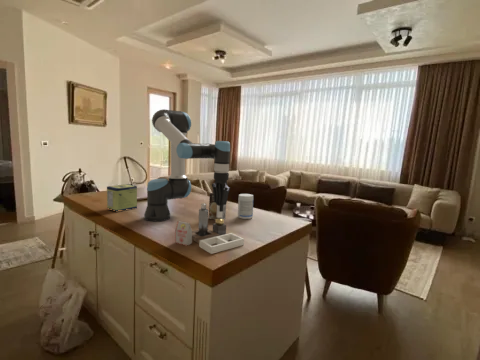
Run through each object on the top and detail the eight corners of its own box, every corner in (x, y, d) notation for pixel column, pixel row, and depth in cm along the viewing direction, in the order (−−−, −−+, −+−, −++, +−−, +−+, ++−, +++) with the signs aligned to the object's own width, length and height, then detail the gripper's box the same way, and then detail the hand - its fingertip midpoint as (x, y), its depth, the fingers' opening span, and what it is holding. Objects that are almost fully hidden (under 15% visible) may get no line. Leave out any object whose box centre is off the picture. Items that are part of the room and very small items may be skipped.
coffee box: (208, 218, 165) (208, 193, 163) (213, 216, 171) (214, 191, 169) (221, 221, 162) (222, 195, 159) (226, 218, 167) (227, 193, 165)
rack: (199, 246, 121) (199, 240, 120) (231, 238, 133) (231, 232, 132) (211, 253, 114) (211, 247, 113) (243, 244, 126) (244, 238, 125)
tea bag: (180, 240, 128) (180, 220, 126) (191, 243, 125) (192, 222, 123) (175, 242, 124) (175, 222, 123) (187, 245, 122) (187, 224, 120)
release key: (213, 231, 139) (213, 219, 138) (220, 229, 142) (220, 218, 141) (218, 233, 136) (218, 221, 135) (225, 232, 139) (225, 220, 138)
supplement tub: (255, 218, 171) (256, 195, 169) (243, 220, 165) (244, 197, 163) (246, 214, 179) (247, 193, 177) (234, 216, 173) (235, 194, 171)
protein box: (137, 208, 182) (137, 185, 180) (116, 212, 169) (115, 188, 167) (127, 205, 187) (127, 183, 185) (106, 209, 174) (106, 186, 172)
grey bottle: (196, 236, 133) (197, 203, 131) (204, 235, 136) (205, 202, 134) (201, 239, 130) (202, 205, 127) (209, 237, 133) (210, 204, 130)
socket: (186, 236, 134) (186, 226, 133) (216, 229, 145) (216, 220, 145) (198, 243, 124) (199, 233, 124) (230, 236, 136) (230, 226, 136)
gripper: (235, 173, 132) (232, 219, 136) (219, 170, 142) (218, 213, 146) (223, 173, 128) (220, 221, 131) (208, 170, 137) (206, 215, 141)
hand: (219, 217), depth 138 cm, fingers closed
